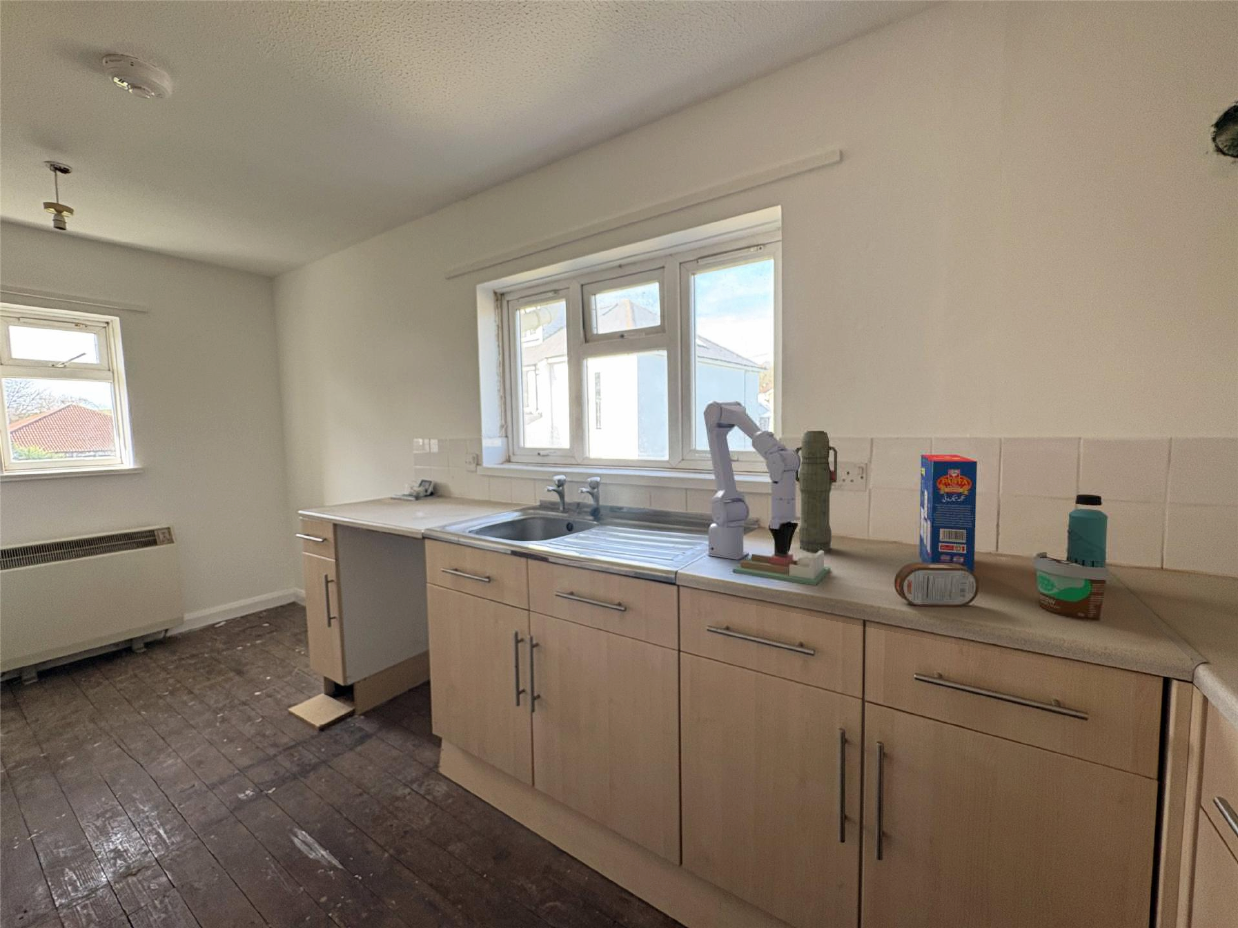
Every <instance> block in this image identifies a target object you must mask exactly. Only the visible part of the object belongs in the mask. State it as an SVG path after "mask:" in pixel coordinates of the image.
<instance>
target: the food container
mask: <svg viewBox="0 0 1238 928" xmlns="http://www.w3.org/2000/svg"><path fill="white" fill-rule="evenodd" d="M1047 553H1048V551H1044V552H1043V551H1042V552H1038V553H1036V555H1035V556H1034V558H1033V560H1032V563H1031V565H1032V567H1033V568H1035V569H1036V579H1037V593H1038V605H1039V607H1040V609H1041V610H1043V611H1045V612H1047V613H1050V614H1052V615H1057V616H1060V617H1063V618H1064V617H1065V618H1067V619H1068V618H1069V619H1075V620H1081V621H1100V619H1101V614H1102V607H1103V601H1104V595H1105V590H1106V589H1105V588H1106V583H1107V581H1108V580H1109V581H1110V580H1111V576H1110V575H1111V574H1110V571H1109V570H1108V567H1105V568H1097V567H1086V566H1083V565H1081V564H1079V563H1076V562H1072V561H1066V560H1062V559H1057V558H1054V557H1050V556H1048V554H1047Z"/></svg>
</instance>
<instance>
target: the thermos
mask: <svg viewBox="0 0 1238 928" xmlns="http://www.w3.org/2000/svg"><path fill="white" fill-rule="evenodd" d="M794 450H795V451H797V453H798V454H799V452H800V451H801V459H802V460H801V465H800V468H799V469H798V470H797V471H796V482H797V483H798V485H799V486H798V489H799V491H800V492H799V493H800V527H799V528H798V540H799V547H800V548H799V549H800V550H801V549H803V550H802V551H804V550H805V552H809V551H812V552H811V553H817V552H819V551H820V550H821V551H824V553H827V552H831V543H832V530H831V529H832V528H831V526H830V508H831V507H830V505H831V504H830V503H831V500H830V498H831V497H830V496H831V495H830V494H831V491H832V485H833V483H834V484H835V483H837V480H838V451H837V449H836V448H835V446H831V445H830V438H829V435H828V432H826V431H825V430H807V431H806V432H804V433H803V436H802V440H801V446H800V447H796V448H795V449H794ZM830 451H833V477H832V470H831V467H830V462H829V460H830V459H829V458H830Z"/></svg>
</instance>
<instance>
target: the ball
mask: <svg viewBox="0 0 1238 928" xmlns="http://www.w3.org/2000/svg"><path fill="white" fill-rule="evenodd" d="M800 556H801V557H800ZM800 556H799V557H798V558H797V559H796V560H797V565H799V566H806V567H809V559H810V558H811V557H812V556H809V555H805V554H804V555H800Z"/></svg>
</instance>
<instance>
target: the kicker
mask: <svg viewBox="0 0 1238 928" xmlns="http://www.w3.org/2000/svg"><path fill="white" fill-rule="evenodd" d="M773 545H774V547H773V550H774V551H773V552H774V553H773V554H772V555H771V557H770V564H771V565H778V566H785V567H789V565H790V564H792V565H793V559H794V555H793V553H789V552H788V549H787V553H786V554H780V553H777V550H776V546H775V542H774V543H773Z"/></svg>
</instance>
